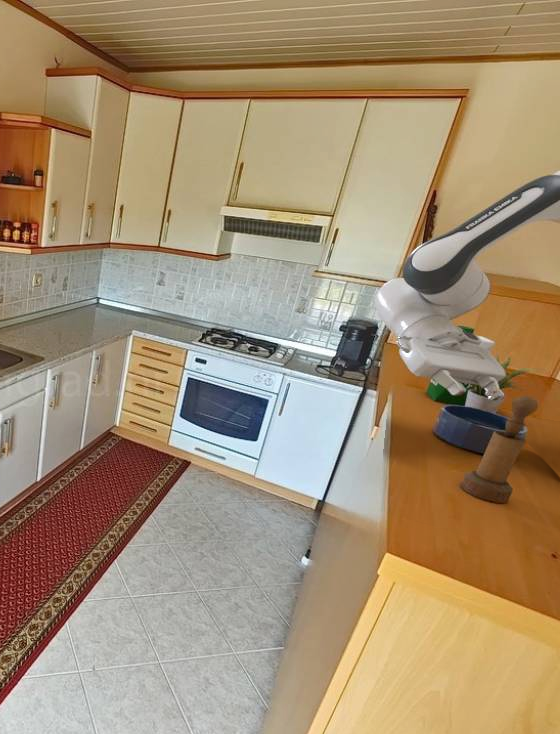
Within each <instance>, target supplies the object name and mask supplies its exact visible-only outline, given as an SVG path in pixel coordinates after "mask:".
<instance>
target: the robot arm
mask: <svg viewBox="0 0 560 734" xmlns="http://www.w3.org/2000/svg"><path fill="white" fill-rule="evenodd" d="M542 221H550V222H553V223H557V224H560V170H558V171H556V172H554V173H552V174H548V175H544V176H540V177H538V178H535V179H533V180H531V181H529V182H527V183H524V184H523V185H522V186H520V187H517V188H516V189H515V190H514V191H512V192H510V193H508V194H507V195H506V196H503V197H502V198H501V199H499V200H497V201H496V202H494V203H493V204H491V205H490V206H488V207H487V208H485V209H483V210H481V211H480V212H478V213H477V214H475V215H473V216H472V217H471V218H469V219H468V220H466V221H464V222H463V223H461V224H460V225H458V226H457V227H455V228H453V229H451V230H449V231H448V232H445V233H443V234H441V235H439V236H437V237H434V238H432V239H429V240H427V241H425V242H424V243H422V244H421V245H419V246H417V247H416V248H415V249H414V250H413V251H412V252H411V253H410V254H409V255H408V256H407V258H406V259H405V262H404V264H403V266H402V277H396V278H392V279H390V280H388V281H387V282H385V283H384V284H383V285H382V286H381V287H380V288H379V289H378V291H377V292H376V294H375V296H374V307H375V310H376V312H377V314H378V316H379V317H380V319H381V320H382V322H383V323H384V325H385V326H386V327H387V329H388V330H389V331H391V332H392V333H393V334H395V335H396V336H397V337H396V341H395V343H396V345H397V346H398V347H399V350H398V354H399V356H400V358H401V359H402V361H403V362H404V364H405V366H406V367H407V369H408V370H409V372H411V373H412V374H413V375H415V376H416V377H418V378H425V379H430V380H431V379H434V380H435V381H436V382H437V383H439V384H440V385H442V386H443V387H445V388H447V390H448V391H449V392H450V393H451V394H452V395H457V396H460V395H462V394H463V393H465V392H466V388H465V387H464V386H463V385H462V384H461V383H468V384H475V385H480V386H481V387H482V388H485V390H486V393H485V395H486V396H487V397H488V398H489V399H490V400H496V401H498V400H500V399H501V398H503V397H504V398H505V392H503V391H502V389H501V390H500V389H499V385H500V384H499V385H498V382H499V381H500V380H501V379H503V378H504V377H506V376H507V375H506V374H507V373H506V370H504V369H503V367H502V366H501V364H499V363H500V362H499V363H498V361H497V358H495V356H494V355H493V354H492V353H491V352H489V351H488V350H487V349H485V348H484V347H483V346H481V345H479V344H481V343H482V341H481V339H480V338H479V337H478V336H479V335H476V334H474V333H473V334H472V333H470V332H467V331H465V330H463V329H461V328H459V327H458V326H459V325H458V324H457V325H456V324H455V323H453V322H452V321H451V320H454V319H456V318H459V317H461V316H462V315H465V314H467V313H469V312H471V311H473V310H475V309H476V308H478V307H480V306H481V305H482V304H483V303H484V302H485V301H486V300H487V298H488V297H489V295H490V292H491V290H492V289H491V287H492V286H491V285H492V284H491V281H490V279H489V277H487V275H486V274H485V272H484V271H483V270H482V268H480V266H479V265H478V264H477V262H476V259H477V258H478V256H479V255H480V254H481V253H484V251H486V250H487V249H489V248H490V247H492V246H494V245H495V244H497V243H499V242H501V241H502V240H504V239H506V238H507V237H509V236H511V235H512V234H514V233H516V232H517V231H519V230H520V229H522V228H524V227H526V226H527V225H530V224H533V223H536V222H542ZM458 382H461V383H458Z"/></svg>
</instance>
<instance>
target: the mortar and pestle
mask: <svg viewBox="0 0 560 734" xmlns="http://www.w3.org/2000/svg"><path fill="white" fill-rule="evenodd" d="M538 407H539V403H538V401H537V400H536V399H535V398H533V397H530V396H526V395H520V396H517V397H515V398H514V399H513V400H512V402H511V409H512V417H511V418H510V419H509V420H507V421H506V427H505V431H498V430H496V431H494V433H493V435H492V437H491V440H490V442H489V444H488V447H487V449H486V451H485V453H484V454H483V456H482V458H481V459H480V462H479V465H478V467H477V469H476V470H472V471H467V472H465V473H464V475H463V477H462V480H461V481H460V484H459V486H460V488H461V489H462V490H463V491H465V492H466V493H467V494H469V495H471V496H474V497H475V498H478V499H480V500H483V499H484V501H486V500H487V502H490V501H492V503H496V504H497V503H498V504H505V503H508V502H509V499H510V497H511V495H512V494H513V490H514V489H513V487H512V486H511V485H510V482H509V481H508V480H507V479H508V478H509V475H510V474H511V471H512V469H513V467H514V464H515V463H516V460H517V458H518V456H519V454H520V452H521V450H522V448H523V446H524V445H525V442H526V438H525V437H524V438H523V437H521V436H518V435H517V434H518V433H519V432H520V431H521V430H522V429H523V428H524V426H525V427H526V424H525V423H524V422H525V419H526V418H527V417H528V416H530V415H532V414H533V413H534V412H536V411H537V410H538Z"/></svg>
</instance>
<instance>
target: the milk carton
mask: <svg viewBox="0 0 560 734" xmlns="http://www.w3.org/2000/svg"><path fill="white" fill-rule="evenodd" d="M457 326H458V327H459V328H461V329H463V330H465V331H467V332H470V333H472V334H474V333H475V328H473V327H469V326H464V325H457ZM477 336H478V337H479V338H480V339H481V341H482V343H481V344H479V345H481V346H483V347H484V348H485V349H487V350H488V351H489V352H490V353H491V352H492V350H493V348H494V346H495V345H496V341H493V340H491V339H489V338H487V337H485V336H481V335H477ZM458 383H461V382H458ZM461 384H462V385H463V386H464V387H465V388H466V392H465V393H463V394H462V395H460V396H457V395H452V394H451V393H450V392H449V391H448V390H447V388H445V387H443V386H442V385H440V384H439V383H437V382H436V381H435V380H434V379H431V378H430V382H429V384H428V386H427V389H426V391H425V394H426V395H427V396H429V398H430V399H432V400H433V401H434V402H437V403H442V404H446V405H461V406H465V404H466V399H467V394H468V390H469V389H476V385H475V384H468V383H461Z"/></svg>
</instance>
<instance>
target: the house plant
mask: <svg viewBox="0 0 560 734" xmlns="http://www.w3.org/2000/svg"><path fill="white" fill-rule="evenodd" d="M499 359H500V358H499V355H498V354H496V360H497V361H498V363H499V364H500V360H499ZM510 363H511V356H508V358H507V359H506V361H504V362H502V363H501V364H500V365H501V366H502V367H503V369H504V370H505V371H507V369H508V367H509V366H510ZM531 370H532V372H533V373H538V371H537V370H534V368H533V367H532V368H531V367H530V368H522V369H518V370H515V371H513V372H509V373H505V374H506V375H505V377H504V378H503V379H501V380H500V381H499V382H498V385H499V389H500V390H501V391H502V389H506V388H512V389H514V390H515V389H517V390H519V391H521V392H523V389H522V388H521V387H518V386H515V385H514V384H513V383H517V382H518V383H519V382H522V381H521V380H511V379H513V378H516V377H528V376H527V375H524V374H523V373H528V372H531ZM539 373H542V372H540V371H539ZM510 380H511V381H510ZM524 389H526V390H528V388H527V387H524ZM485 393H486V390H485V388H482V387H481V386H480V385H476V386H475V388H474V389H469V390H468V394H467V399H466V404H465V406H467V407H472V408H477V409H481V410H485V411H489V412H492V413H496V414H497V411H498V410H499V408H500V407H501V406H502V405H503V403H504V402H505V400H506V398H505V396H504V397H503V398H501V399H500V400H498V401H496V400H490V399H489V398H488V397H487V396H486V395H485Z"/></svg>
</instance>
